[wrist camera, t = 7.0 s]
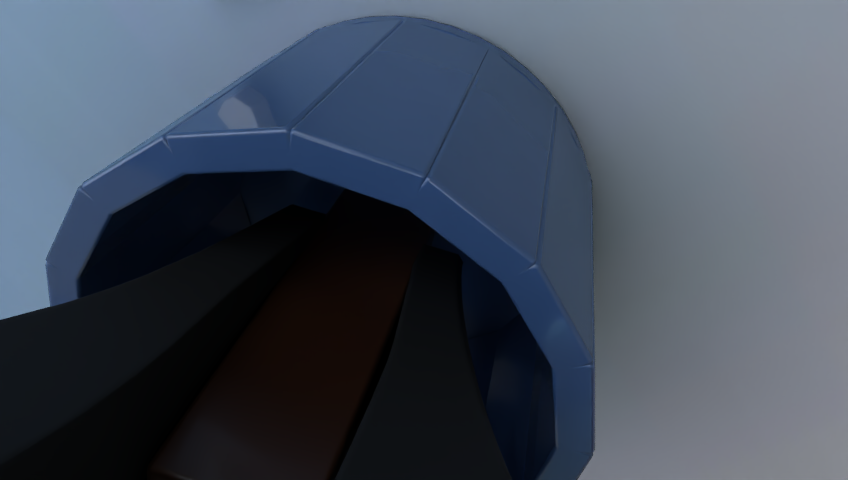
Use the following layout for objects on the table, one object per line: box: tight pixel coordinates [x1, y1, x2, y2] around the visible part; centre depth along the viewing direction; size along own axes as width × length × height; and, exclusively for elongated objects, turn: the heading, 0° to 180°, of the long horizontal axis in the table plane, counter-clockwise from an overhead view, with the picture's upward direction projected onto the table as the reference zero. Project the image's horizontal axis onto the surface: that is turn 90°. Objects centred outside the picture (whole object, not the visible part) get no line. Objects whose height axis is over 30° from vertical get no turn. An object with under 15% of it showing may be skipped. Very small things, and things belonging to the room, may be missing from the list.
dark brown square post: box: [147, 189, 435, 480], centre depth 9 cm, size 2×2×6 cm
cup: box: [46, 16, 595, 480], centre depth 11 cm, size 8×8×6 cm
